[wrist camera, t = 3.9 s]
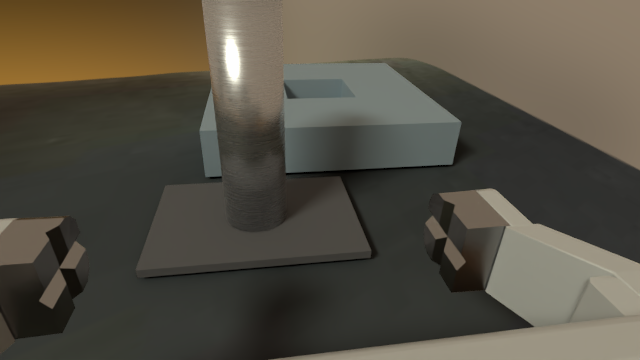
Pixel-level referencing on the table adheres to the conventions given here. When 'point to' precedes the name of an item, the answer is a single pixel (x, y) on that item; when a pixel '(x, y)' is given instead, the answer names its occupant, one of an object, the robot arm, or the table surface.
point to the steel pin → (249, 108)
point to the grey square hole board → (351, 121)
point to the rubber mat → (251, 247)
